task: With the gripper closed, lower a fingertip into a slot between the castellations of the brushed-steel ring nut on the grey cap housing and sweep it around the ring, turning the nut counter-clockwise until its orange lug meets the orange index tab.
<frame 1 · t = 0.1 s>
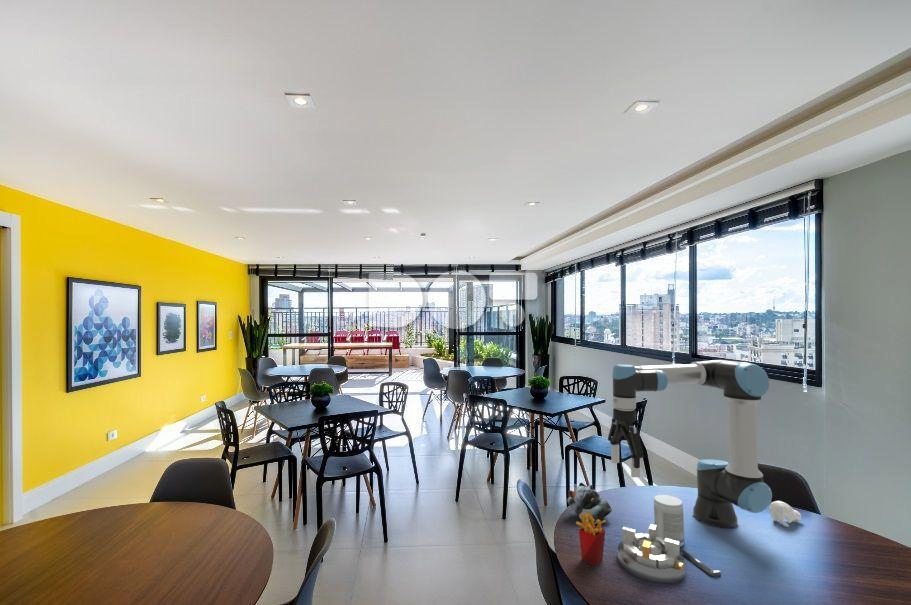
hand: (624, 469, 143), 28 cm above the table, fingers open, 13 cm apart
supplement tub: (669, 541, 147), on the table
lucky cat figurine: (589, 518, 164), on the table
cap housing: (650, 563, 134), on the table
french fries: (588, 559, 136), on the table
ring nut: (650, 544, 134), point 6 cm above the table, hinge at 0.0°
pin spanner: (696, 564, 134), on the table
white animal figurine: (787, 523, 161), on the table
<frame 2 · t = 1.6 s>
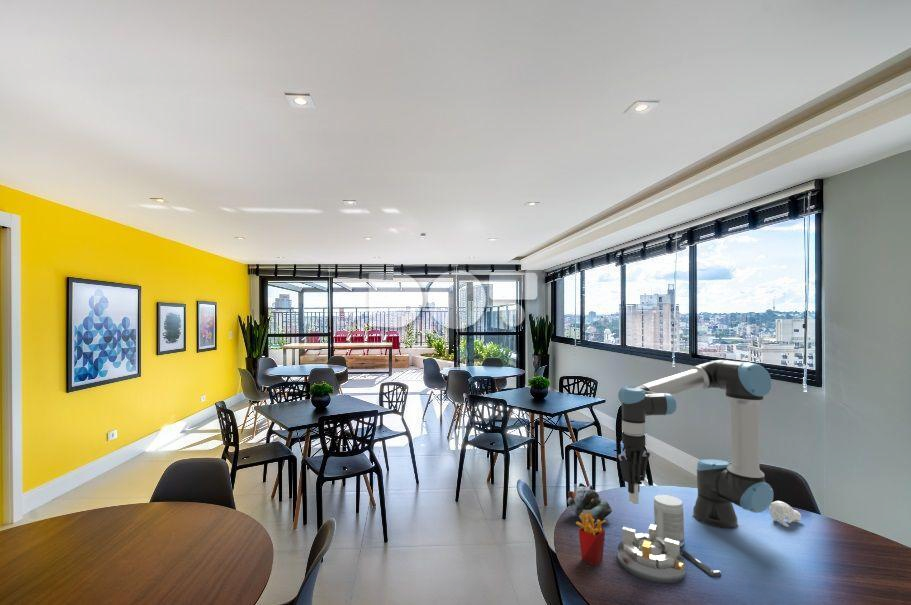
hand: (633, 502, 140), 17 cm above the table, fingers closed
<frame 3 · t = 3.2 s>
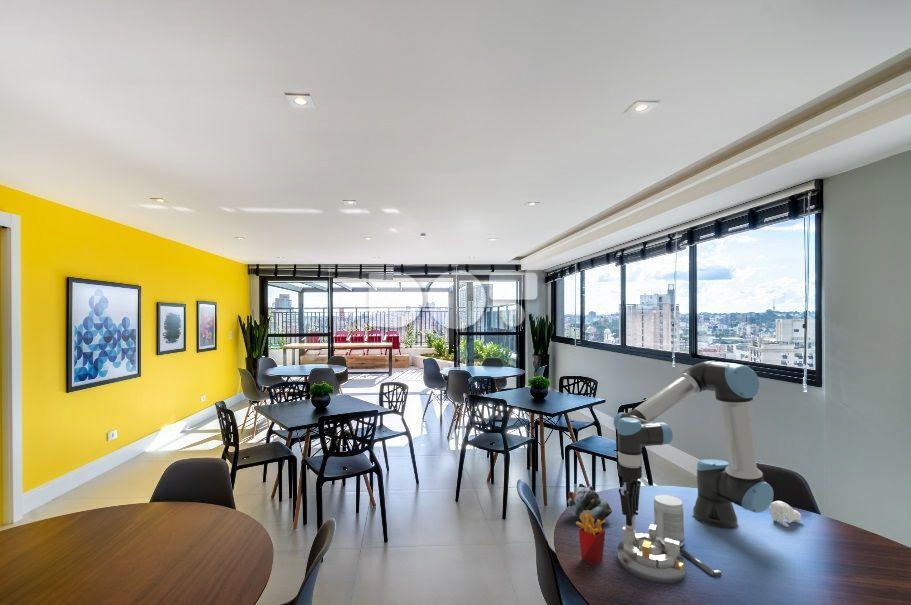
hand: (630, 534, 139), 7 cm above the table, fingers closed
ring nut: (650, 544, 134), point 6 cm above the table, hinge at 0.0°, touching gripper
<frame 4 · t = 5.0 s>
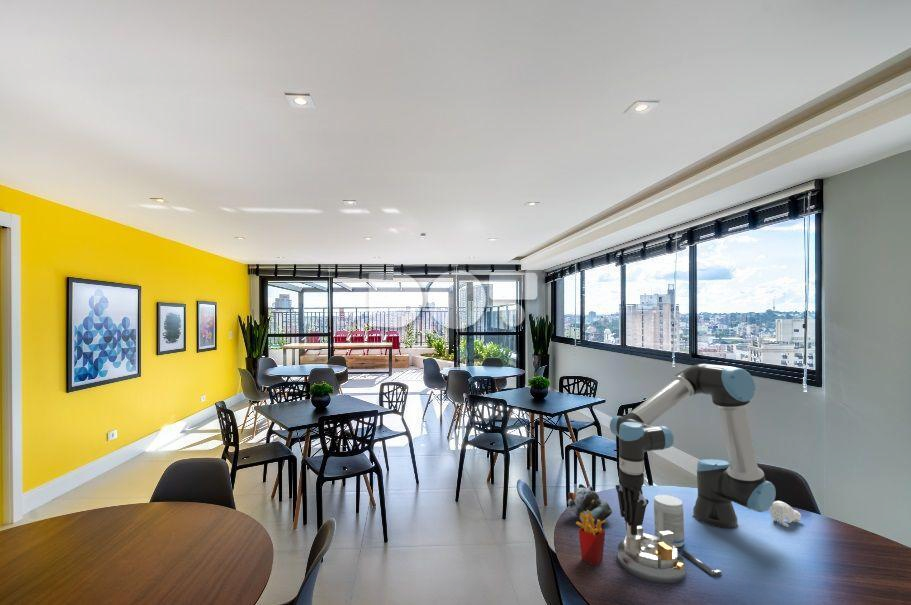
hand: (631, 542, 133), 7 cm above the table, fingers closed
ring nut: (650, 544, 134), point 6 cm above the table, hinge at 48.9°, touching gripper
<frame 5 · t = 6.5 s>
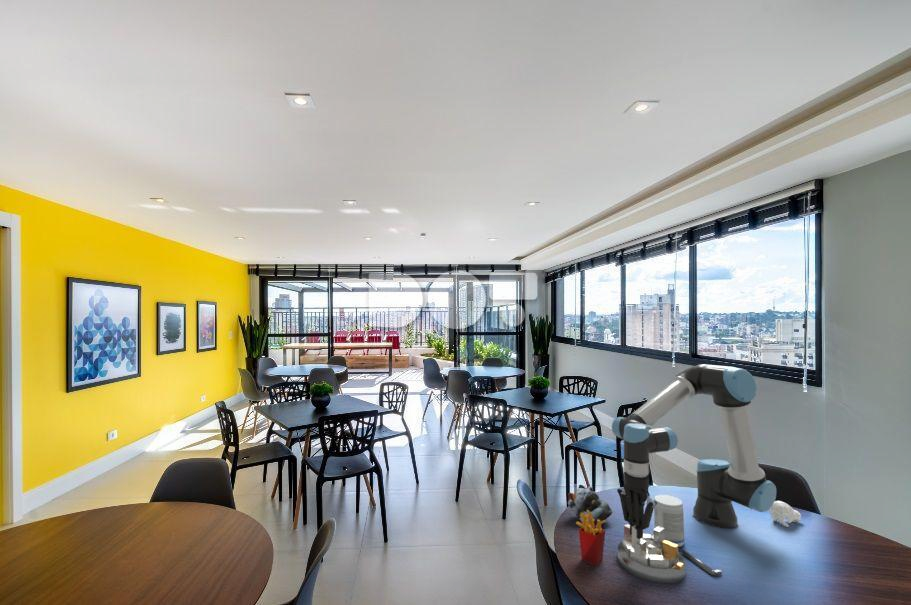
hand: (636, 546, 131), 7 cm above the table, fingers closed
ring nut: (650, 544, 134), point 6 cm above the table, hinge at 72.7°, touching gripper
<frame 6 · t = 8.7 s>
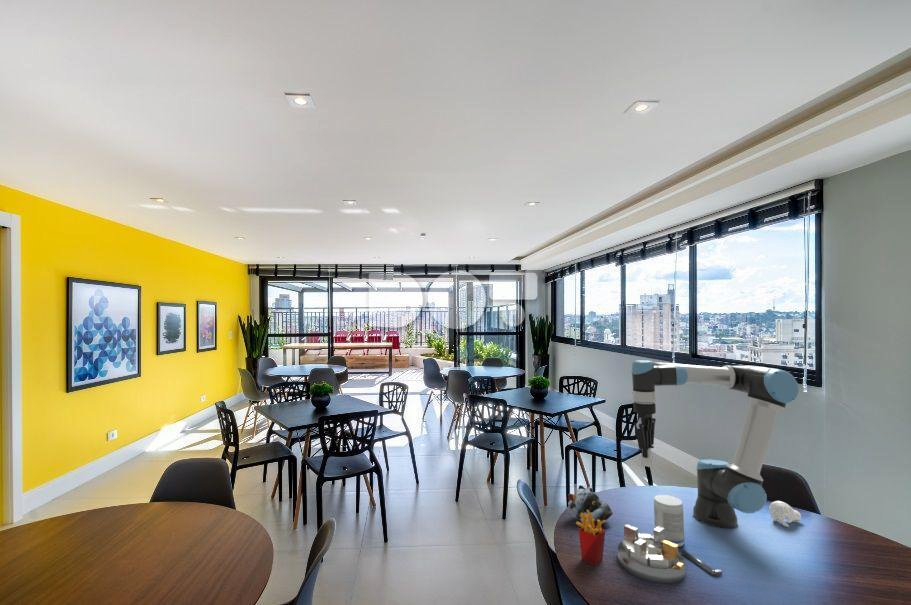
hand: (647, 465, 151), 26 cm above the table, fingers closed
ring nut: (650, 544, 134), point 6 cm above the table, hinge at 72.7°
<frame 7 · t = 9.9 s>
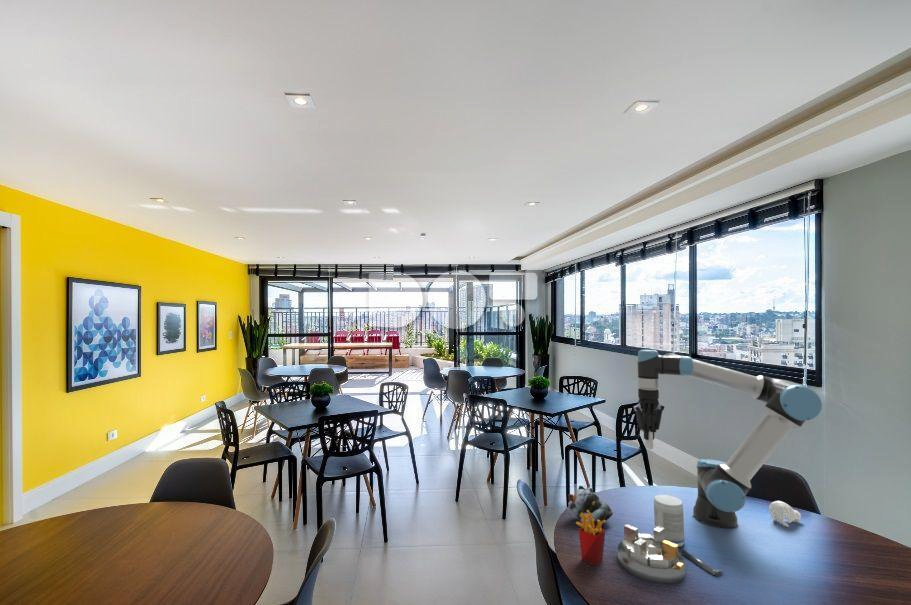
hand: (649, 447, 162), 29 cm above the table, fingers closed
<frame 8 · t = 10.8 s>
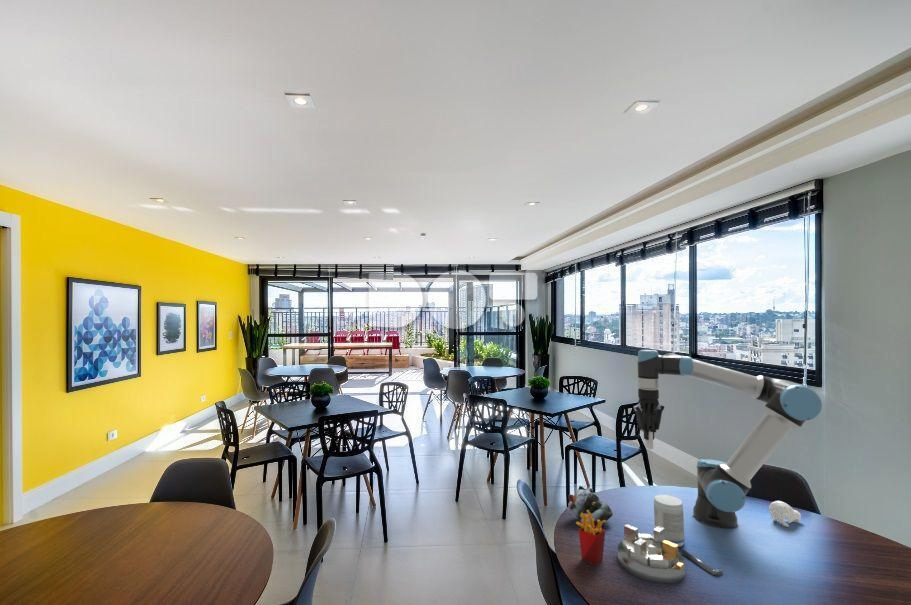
hand: (649, 447, 162), 29 cm above the table, fingers closed
at the end: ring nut at +73° (first picture: +0°) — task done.
